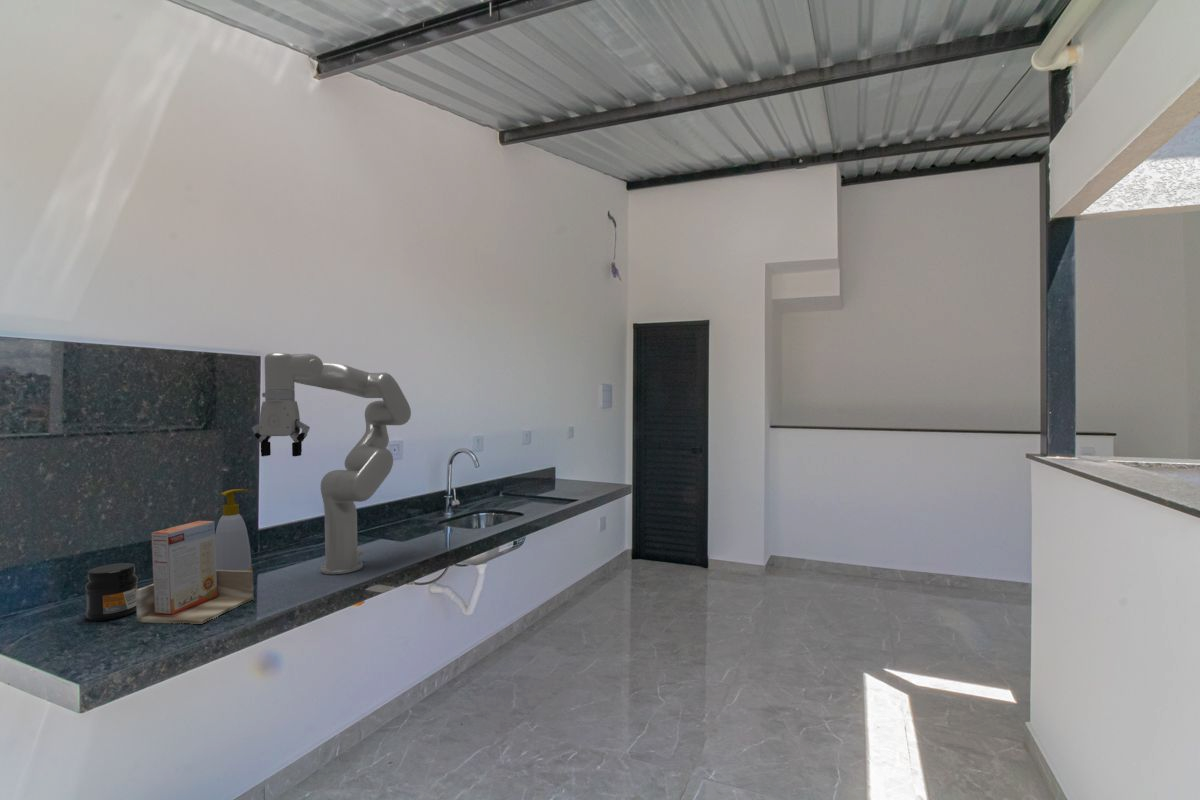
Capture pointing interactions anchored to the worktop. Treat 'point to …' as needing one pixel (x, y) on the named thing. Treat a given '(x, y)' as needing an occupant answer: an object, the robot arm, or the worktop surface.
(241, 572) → the beige tray
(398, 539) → the worktop surface
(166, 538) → the cracker box
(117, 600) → the supplement container
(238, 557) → the soap bottle
